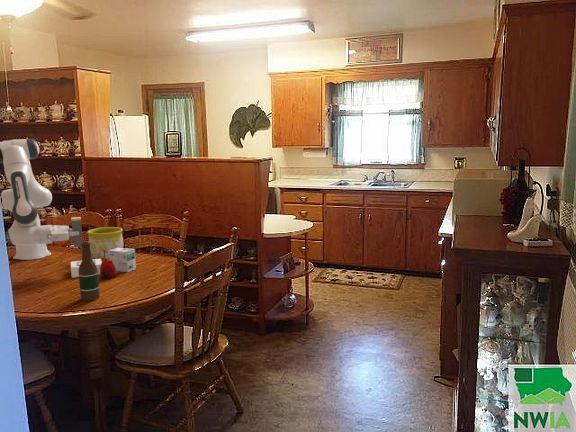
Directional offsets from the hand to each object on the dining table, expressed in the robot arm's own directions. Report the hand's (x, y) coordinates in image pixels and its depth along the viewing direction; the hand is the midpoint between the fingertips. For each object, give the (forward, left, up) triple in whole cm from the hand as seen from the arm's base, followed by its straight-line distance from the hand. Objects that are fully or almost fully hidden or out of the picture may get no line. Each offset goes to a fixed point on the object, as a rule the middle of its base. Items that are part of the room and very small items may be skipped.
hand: (79, 231), depth 231 cm
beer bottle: (+41, +2, -21) cm, 46 cm away
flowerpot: (-23, +13, -21) cm, 34 cm away
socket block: (0, +2, -21) cm, 21 cm away
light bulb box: (+3, +19, -21) cm, 29 cm away
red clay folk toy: (+13, +11, -21) cm, 27 cm away
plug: (0, -1, -7) cm, 7 cm away
